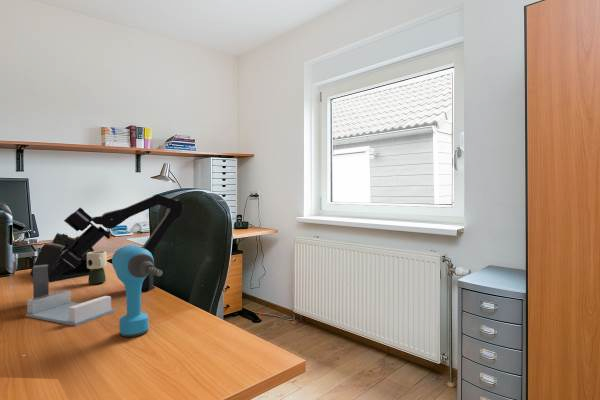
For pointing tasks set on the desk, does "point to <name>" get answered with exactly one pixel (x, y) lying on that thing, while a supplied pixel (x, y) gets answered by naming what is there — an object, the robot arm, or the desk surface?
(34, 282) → the steel block
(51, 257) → the device stand
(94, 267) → the character mug
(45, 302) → the bar
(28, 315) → the vise base
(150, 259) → the power drill
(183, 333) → the desk surface
